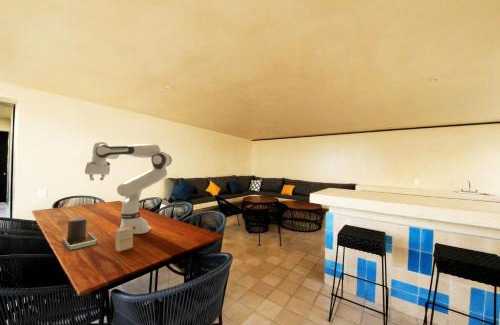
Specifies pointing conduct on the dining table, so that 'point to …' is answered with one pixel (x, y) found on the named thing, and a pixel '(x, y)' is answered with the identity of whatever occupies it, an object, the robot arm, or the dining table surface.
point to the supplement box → (124, 238)
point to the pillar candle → (76, 229)
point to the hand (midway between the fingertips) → (96, 180)
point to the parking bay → (70, 247)
